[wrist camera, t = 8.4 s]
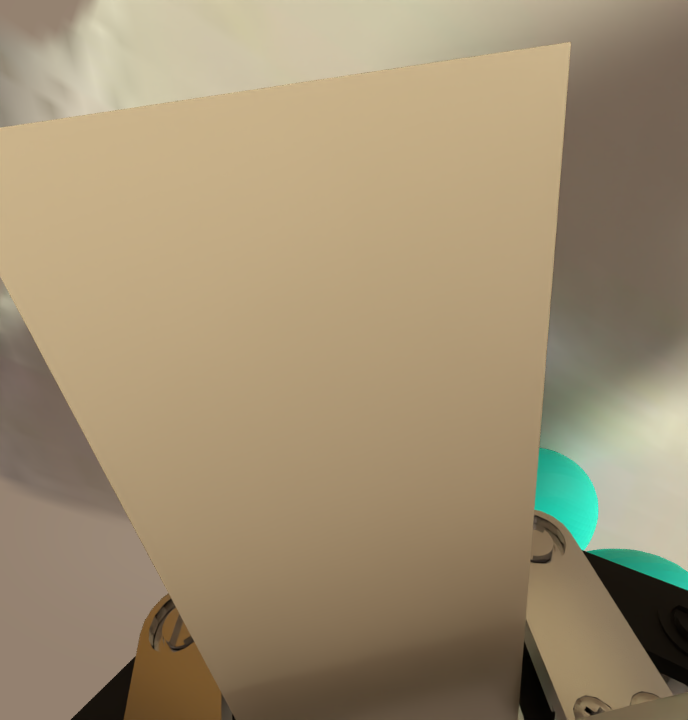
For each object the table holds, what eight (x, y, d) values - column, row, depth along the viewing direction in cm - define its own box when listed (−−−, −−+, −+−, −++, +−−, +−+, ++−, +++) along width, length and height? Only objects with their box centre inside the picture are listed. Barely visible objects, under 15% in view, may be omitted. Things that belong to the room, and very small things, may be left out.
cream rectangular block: (200, 176, 8) (-75, 138, 2) (358, 149, 9) (571, 41, 2) (321, 610, 15) (349, 933, 8) (411, 589, 15) (504, 887, 9)
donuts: (454, 736, 15) (641, 573, 12) (392, 532, 24) (493, 410, 22) (611, 763, 19) (789, 637, 16) (505, 573, 28) (606, 472, 25)
